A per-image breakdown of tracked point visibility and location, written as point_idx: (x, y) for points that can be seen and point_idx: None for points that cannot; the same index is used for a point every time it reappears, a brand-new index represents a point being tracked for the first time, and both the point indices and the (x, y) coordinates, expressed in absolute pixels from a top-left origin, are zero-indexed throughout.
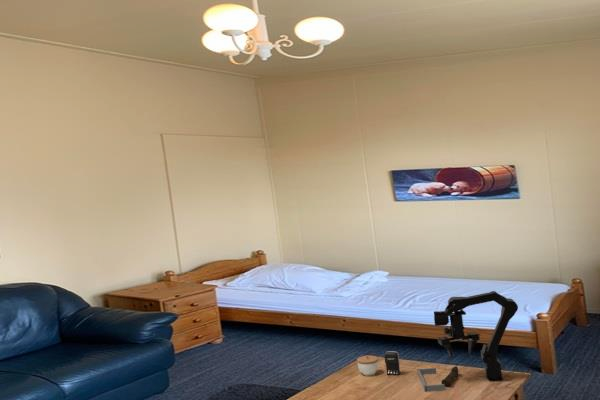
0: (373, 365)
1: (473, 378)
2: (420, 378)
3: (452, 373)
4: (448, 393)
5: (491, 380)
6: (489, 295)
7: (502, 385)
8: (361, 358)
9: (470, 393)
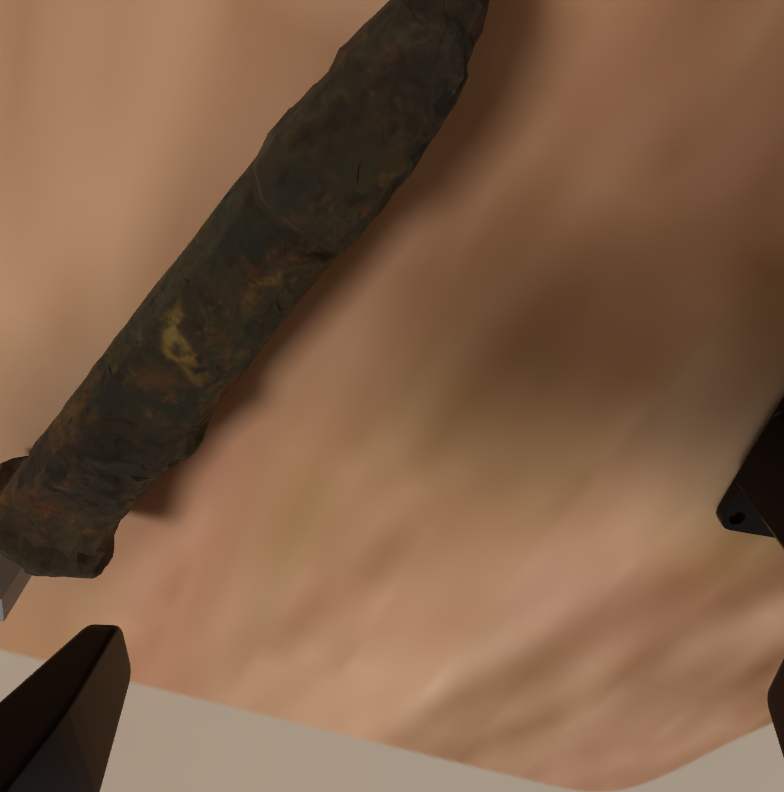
0: None
1: (601, 330)
2: None
3: (229, 335)
4: None
5: (741, 530)
6: None
7: (743, 648)
8: None
9: (305, 706)
